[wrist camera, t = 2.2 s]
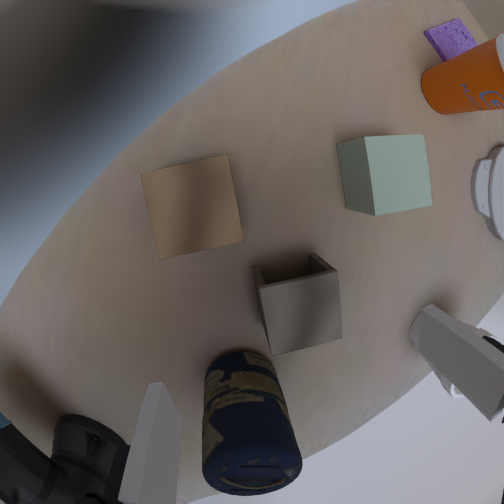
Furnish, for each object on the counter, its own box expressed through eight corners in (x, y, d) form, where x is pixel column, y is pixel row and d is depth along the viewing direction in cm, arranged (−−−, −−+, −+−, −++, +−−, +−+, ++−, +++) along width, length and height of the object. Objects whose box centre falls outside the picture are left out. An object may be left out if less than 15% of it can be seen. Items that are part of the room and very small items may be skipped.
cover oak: (262, 324, 34) (272, 355, 28) (251, 266, 32) (259, 288, 26) (321, 310, 35) (342, 337, 28) (315, 253, 33) (337, 271, 26)
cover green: (346, 208, 32) (375, 216, 25) (336, 144, 30) (364, 136, 23) (397, 199, 32) (432, 205, 26) (389, 140, 30) (423, 134, 24)
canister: (223, 335, 34) (228, 453, 17) (288, 360, 36) (328, 467, 19) (194, 387, 36) (186, 497, 18) (255, 406, 38) (273, 510, 20)
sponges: (475, 52, 28) (481, 50, 26) (446, 71, 29) (453, 68, 27) (453, 20, 26) (459, 17, 24) (420, 33, 27) (427, 29, 25)
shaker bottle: (411, 56, 28) (513, 10, 8) (454, 73, 28) (550, 48, 9) (419, 113, 30) (539, 90, 10) (461, 126, 31) (567, 119, 11)
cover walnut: (172, 242, 31) (159, 259, 24) (158, 175, 29) (140, 174, 22) (239, 228, 31) (244, 241, 25) (226, 160, 29) (227, 154, 23)
